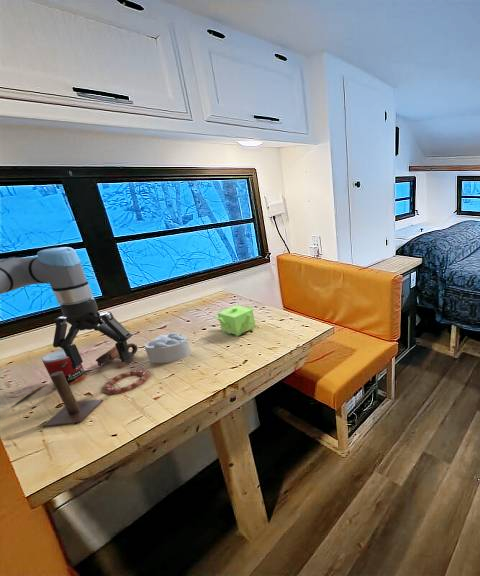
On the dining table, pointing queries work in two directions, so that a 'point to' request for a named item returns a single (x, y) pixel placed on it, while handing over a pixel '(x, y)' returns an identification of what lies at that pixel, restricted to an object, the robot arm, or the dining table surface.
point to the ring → (110, 390)
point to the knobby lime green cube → (236, 320)
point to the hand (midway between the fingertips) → (102, 362)
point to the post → (69, 404)
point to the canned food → (63, 366)
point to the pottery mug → (117, 356)
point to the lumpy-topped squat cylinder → (168, 348)
